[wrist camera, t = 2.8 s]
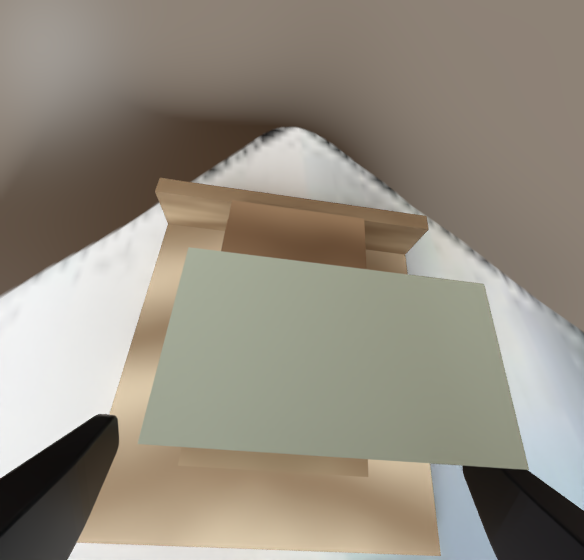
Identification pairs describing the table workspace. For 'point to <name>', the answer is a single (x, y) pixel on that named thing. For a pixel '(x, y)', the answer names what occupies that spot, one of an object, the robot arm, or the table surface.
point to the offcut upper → (295, 235)
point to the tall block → (331, 365)
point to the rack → (244, 464)
